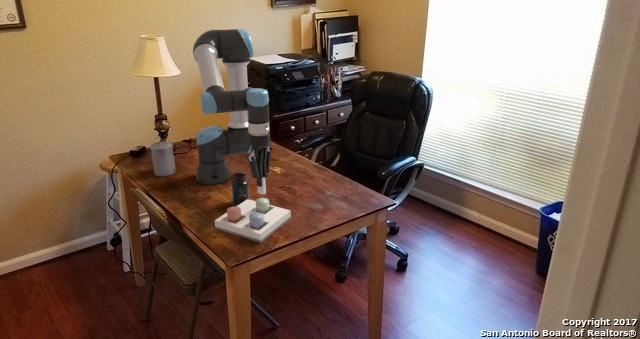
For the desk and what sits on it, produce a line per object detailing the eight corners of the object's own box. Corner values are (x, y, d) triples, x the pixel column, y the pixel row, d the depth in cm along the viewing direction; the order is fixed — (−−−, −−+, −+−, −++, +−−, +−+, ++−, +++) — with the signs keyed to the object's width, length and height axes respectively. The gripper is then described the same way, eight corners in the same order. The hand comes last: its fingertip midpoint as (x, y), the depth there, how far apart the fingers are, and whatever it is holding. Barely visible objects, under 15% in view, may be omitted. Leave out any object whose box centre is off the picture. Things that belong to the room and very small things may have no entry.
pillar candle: (164, 167, 224) (160, 137, 218) (180, 170, 220) (176, 140, 214) (149, 174, 216) (144, 144, 210) (165, 178, 212) (161, 147, 206)
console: (215, 228, 170) (214, 220, 168) (248, 206, 186) (247, 199, 185) (260, 242, 161) (260, 234, 160) (290, 218, 177) (290, 210, 176)
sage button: (253, 211, 176) (253, 202, 175) (261, 206, 181) (260, 196, 179) (264, 214, 174) (264, 204, 173) (271, 209, 178) (271, 199, 177)
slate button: (247, 227, 165) (246, 217, 164) (255, 221, 169) (254, 211, 168) (258, 230, 163) (258, 220, 162) (266, 224, 167) (266, 214, 166)
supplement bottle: (241, 207, 186) (240, 180, 181) (228, 203, 189) (226, 176, 184) (252, 201, 191) (251, 174, 186) (240, 197, 194) (238, 170, 190)
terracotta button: (224, 220, 170) (223, 210, 168) (233, 215, 174) (232, 205, 172) (235, 223, 167) (235, 214, 166) (244, 218, 172) (243, 208, 170)
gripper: (257, 139, 159) (260, 202, 167) (277, 129, 169) (279, 188, 178) (239, 136, 162) (243, 197, 171) (260, 126, 173) (263, 185, 181)
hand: (261, 193), depth 174 cm, fingers closed
